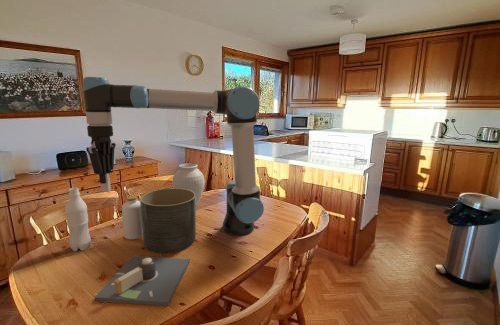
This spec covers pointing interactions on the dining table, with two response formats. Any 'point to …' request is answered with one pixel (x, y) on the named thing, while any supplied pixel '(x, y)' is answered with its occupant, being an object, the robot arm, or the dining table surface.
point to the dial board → (147, 282)
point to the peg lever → (136, 275)
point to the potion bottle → (132, 218)
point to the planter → (168, 219)
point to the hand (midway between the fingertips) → (106, 191)
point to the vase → (189, 179)
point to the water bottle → (77, 221)
